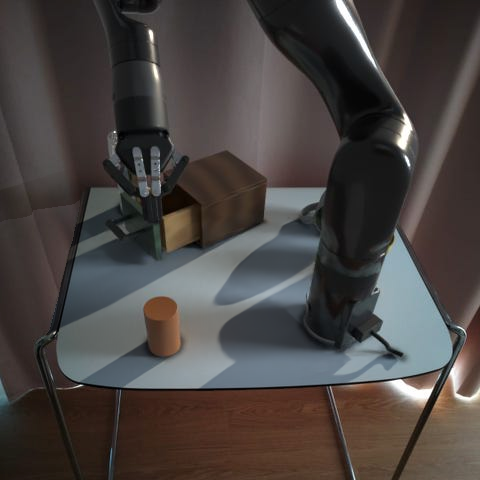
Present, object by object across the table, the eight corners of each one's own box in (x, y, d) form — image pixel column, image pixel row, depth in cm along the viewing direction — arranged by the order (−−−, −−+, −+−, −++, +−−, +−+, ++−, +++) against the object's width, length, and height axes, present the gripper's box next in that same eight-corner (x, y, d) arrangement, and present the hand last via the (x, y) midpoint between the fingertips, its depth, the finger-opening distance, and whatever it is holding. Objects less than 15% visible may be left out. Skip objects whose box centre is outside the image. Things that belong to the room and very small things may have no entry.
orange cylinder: (186, 347, 75) (184, 310, 69) (159, 362, 73) (154, 325, 67) (169, 328, 78) (166, 291, 72) (142, 341, 75) (136, 305, 70)
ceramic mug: (354, 216, 100) (362, 182, 94) (350, 240, 94) (357, 206, 89) (302, 207, 101) (307, 173, 96) (295, 230, 96) (299, 196, 90)
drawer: (133, 272, 85) (127, 235, 79) (102, 238, 91) (95, 201, 85) (219, 234, 93) (219, 199, 87) (186, 205, 99) (184, 170, 93)
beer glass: (124, 196, 102) (113, 125, 91) (157, 199, 101) (150, 129, 90) (113, 215, 97) (100, 143, 86) (148, 219, 97) (139, 148, 86)
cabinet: (202, 248, 91) (201, 204, 84) (166, 215, 98) (162, 171, 91) (263, 221, 97) (267, 178, 90) (226, 192, 104) (226, 149, 97)
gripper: (183, 111, 76) (195, 224, 77) (94, 114, 74) (108, 231, 75) (188, 92, 69) (201, 217, 70) (90, 94, 66) (105, 224, 67)
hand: (153, 224), depth 72 cm, fingers closed
